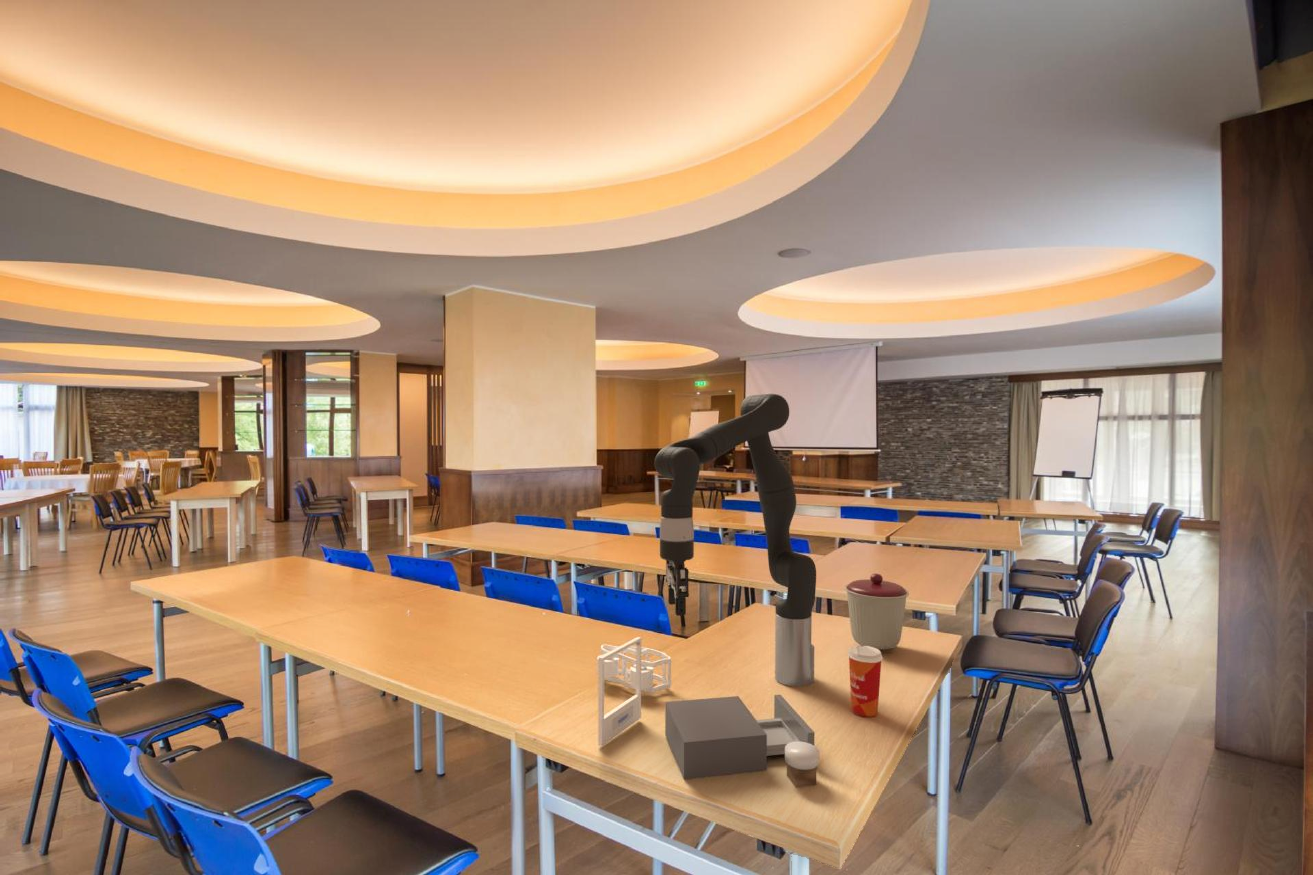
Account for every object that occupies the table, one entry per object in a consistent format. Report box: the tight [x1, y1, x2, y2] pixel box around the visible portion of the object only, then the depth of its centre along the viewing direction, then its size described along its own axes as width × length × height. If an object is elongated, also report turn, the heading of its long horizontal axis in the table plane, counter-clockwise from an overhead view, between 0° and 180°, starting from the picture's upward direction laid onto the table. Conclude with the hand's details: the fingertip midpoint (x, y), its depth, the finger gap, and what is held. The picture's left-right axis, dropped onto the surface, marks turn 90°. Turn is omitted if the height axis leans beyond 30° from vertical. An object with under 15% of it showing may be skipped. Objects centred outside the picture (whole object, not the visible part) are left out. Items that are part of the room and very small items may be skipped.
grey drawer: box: [756, 694, 815, 757], centre depth 126 cm, size 15×17×6 cm
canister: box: [844, 573, 910, 650], centre depth 186 cm, size 18×18×21 cm
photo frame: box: [597, 636, 642, 747], centre depth 133 cm, size 15×1×18 cm, turn 149°
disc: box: [784, 741, 820, 770], centre depth 114 cm, size 6×6×2 cm
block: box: [786, 763, 818, 788], centre depth 114 cm, size 4×4×4 cm
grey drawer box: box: [664, 695, 768, 781], centre depth 124 cm, size 16×17×7 cm
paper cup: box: [846, 645, 884, 718], centre depth 142 cm, size 8×8×14 cm
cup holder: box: [596, 644, 672, 694], centre depth 159 cm, size 20×11×7 cm, turn 52°
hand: (676, 609), depth 139 cm, fingers open, 8 cm apart
